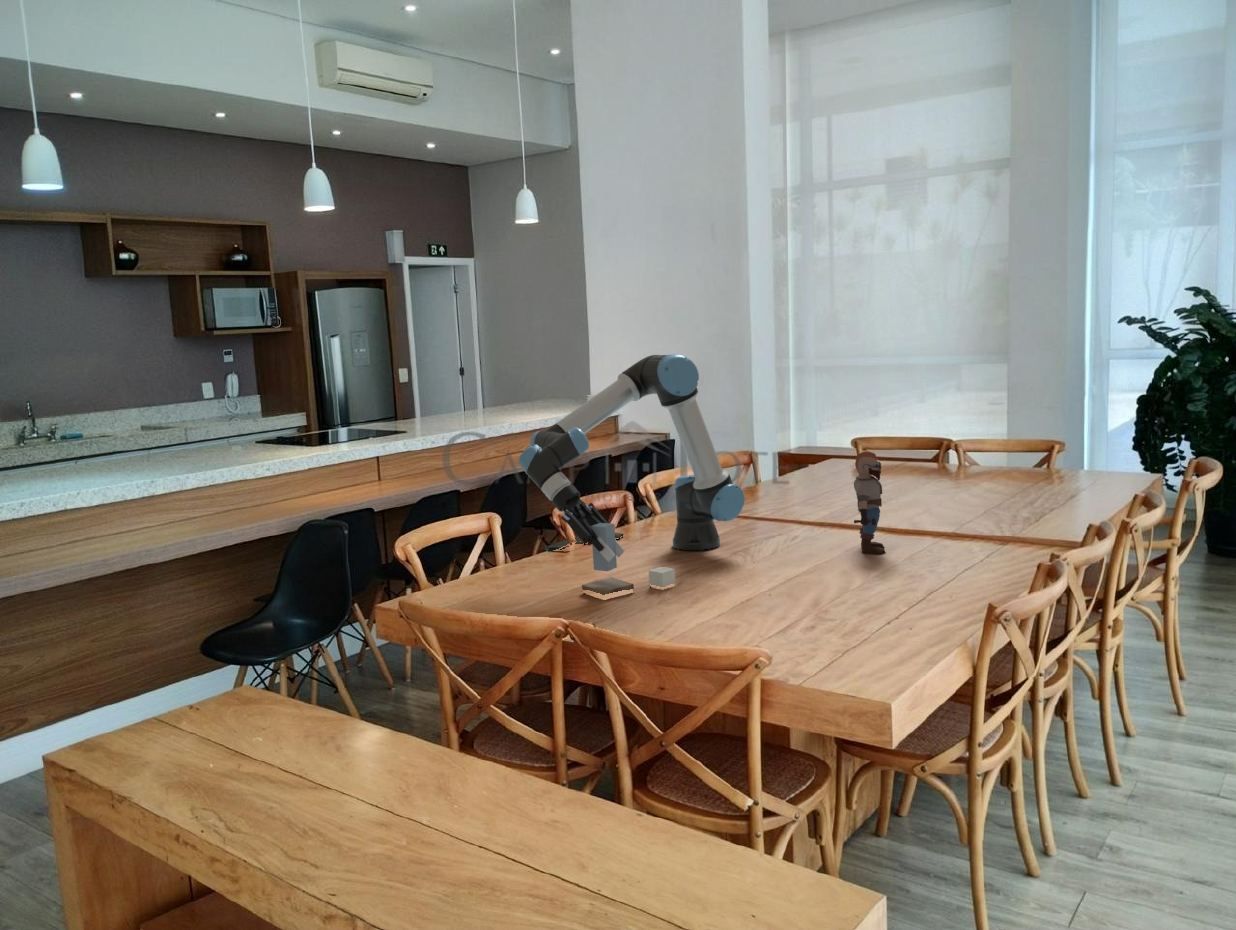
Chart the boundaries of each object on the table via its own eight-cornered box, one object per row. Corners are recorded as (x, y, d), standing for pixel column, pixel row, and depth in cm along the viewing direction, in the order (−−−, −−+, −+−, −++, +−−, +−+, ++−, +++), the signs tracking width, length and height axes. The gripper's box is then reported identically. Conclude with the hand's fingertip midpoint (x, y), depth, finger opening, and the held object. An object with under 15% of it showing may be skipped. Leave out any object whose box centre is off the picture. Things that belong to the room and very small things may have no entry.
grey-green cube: (661, 584, 272) (661, 566, 271) (675, 586, 269) (674, 568, 268) (649, 588, 269) (648, 570, 268) (663, 591, 265) (662, 573, 264)
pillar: (602, 566, 268) (600, 522, 266) (616, 567, 265) (614, 523, 264) (593, 570, 264) (591, 526, 262) (608, 571, 261) (605, 527, 260)
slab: (612, 588, 273) (611, 577, 272) (634, 594, 265) (633, 584, 264) (582, 595, 267) (581, 584, 266) (603, 602, 259) (603, 591, 258)
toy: (887, 559, 284) (885, 456, 280) (854, 559, 286) (852, 457, 282) (882, 541, 306) (880, 446, 301) (852, 542, 307) (849, 447, 303)
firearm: (578, 550, 312) (542, 546, 321) (578, 556, 313) (542, 552, 322) (629, 531, 335) (594, 528, 344) (629, 537, 335) (594, 534, 344)
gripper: (571, 496, 277) (625, 557, 271) (535, 507, 262) (591, 573, 256) (586, 478, 274) (641, 540, 268) (550, 489, 259) (607, 554, 253)
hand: (616, 556), depth 262 cm, fingers closed on pillar, 4 cm apart
